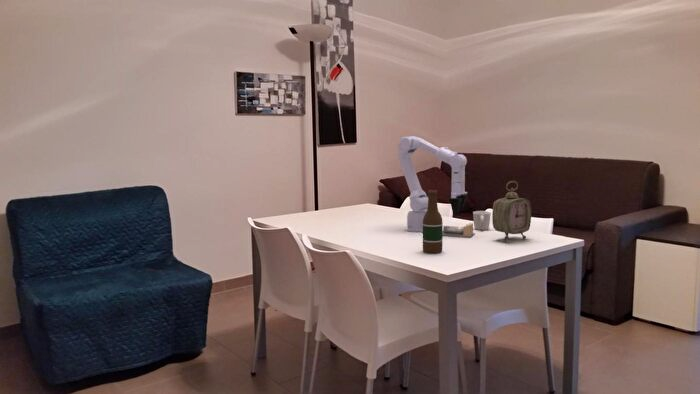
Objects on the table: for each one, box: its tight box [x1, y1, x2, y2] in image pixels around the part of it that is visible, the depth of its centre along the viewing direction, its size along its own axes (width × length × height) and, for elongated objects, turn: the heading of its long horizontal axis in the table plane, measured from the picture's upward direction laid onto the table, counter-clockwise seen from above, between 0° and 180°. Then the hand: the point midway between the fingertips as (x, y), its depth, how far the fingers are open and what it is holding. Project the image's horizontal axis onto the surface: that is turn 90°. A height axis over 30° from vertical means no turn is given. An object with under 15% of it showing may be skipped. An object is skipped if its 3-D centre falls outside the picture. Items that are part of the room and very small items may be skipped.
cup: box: [472, 210, 492, 231], centre depth 253 cm, size 11×8×8 cm
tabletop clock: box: [491, 180, 532, 243], centre depth 229 cm, size 14×9×25 cm, turn 122°
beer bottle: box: [422, 189, 444, 255], centre depth 211 cm, size 8×8×24 cm
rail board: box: [442, 222, 476, 239], centre depth 243 cm, size 19×8×5 cm, turn 64°
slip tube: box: [442, 225, 464, 234], centre depth 242 cm, size 11×3×3 cm, turn 64°
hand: (457, 212), depth 244 cm, fingers open, 7 cm apart
